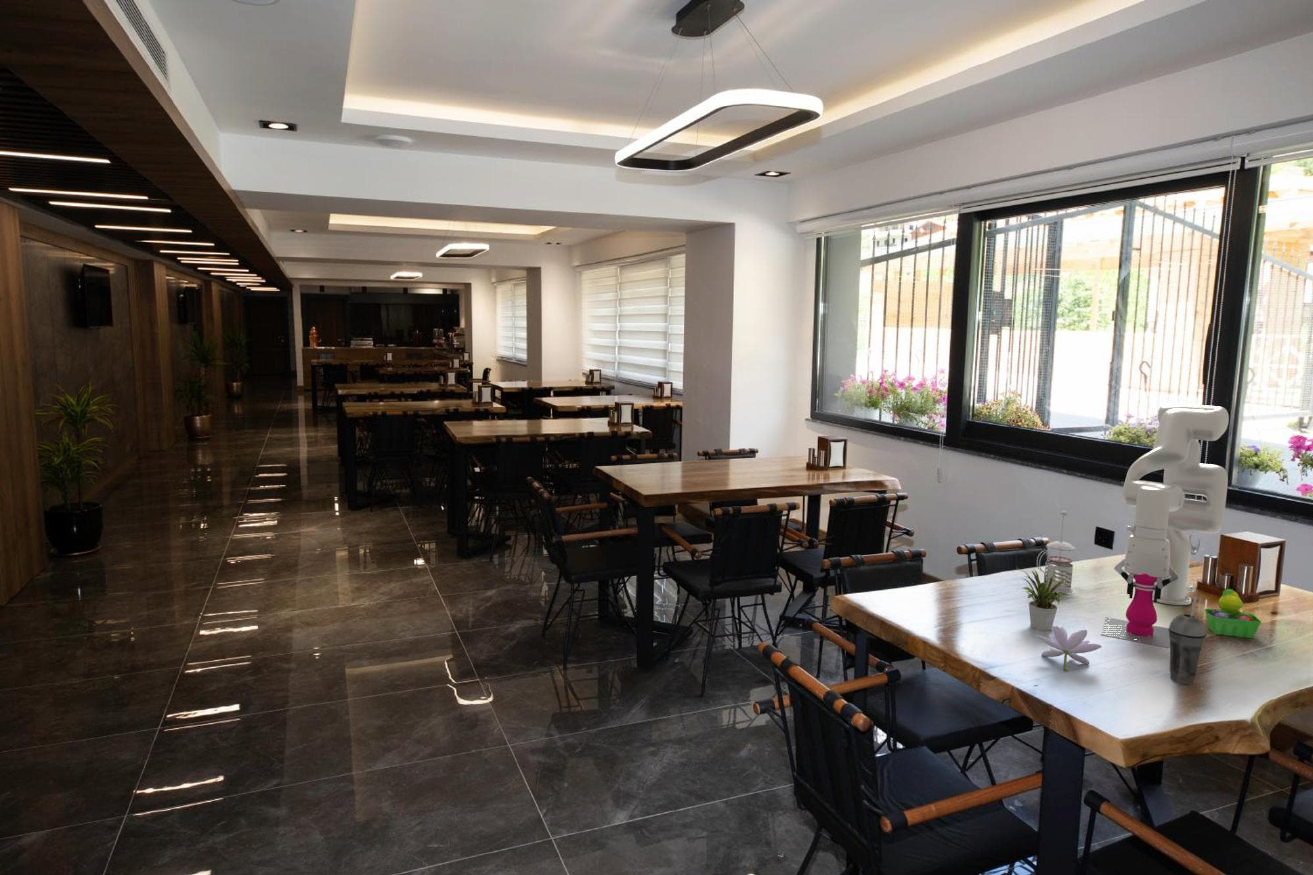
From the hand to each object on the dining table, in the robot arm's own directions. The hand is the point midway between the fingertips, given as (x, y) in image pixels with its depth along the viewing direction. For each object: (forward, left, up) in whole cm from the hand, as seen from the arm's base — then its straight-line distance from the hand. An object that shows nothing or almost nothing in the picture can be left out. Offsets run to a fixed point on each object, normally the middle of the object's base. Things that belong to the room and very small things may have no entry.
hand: (1143, 598), depth 216 cm
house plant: (+24, -12, -10) cm, 29 cm away
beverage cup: (+19, +26, -10) cm, 34 cm away
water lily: (+37, +11, -10) cm, 40 cm away
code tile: (0, 0, -9) cm, 9 cm away
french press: (-9, -37, -10) cm, 39 cm away
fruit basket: (-25, +7, -10) cm, 28 cm away
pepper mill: (0, 0, -10) cm, 10 cm away
